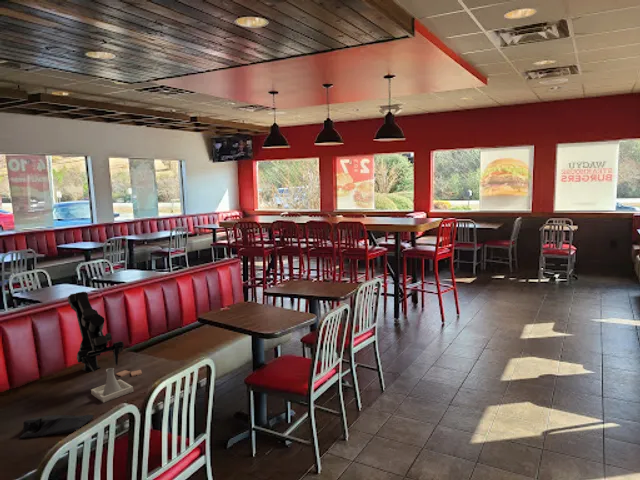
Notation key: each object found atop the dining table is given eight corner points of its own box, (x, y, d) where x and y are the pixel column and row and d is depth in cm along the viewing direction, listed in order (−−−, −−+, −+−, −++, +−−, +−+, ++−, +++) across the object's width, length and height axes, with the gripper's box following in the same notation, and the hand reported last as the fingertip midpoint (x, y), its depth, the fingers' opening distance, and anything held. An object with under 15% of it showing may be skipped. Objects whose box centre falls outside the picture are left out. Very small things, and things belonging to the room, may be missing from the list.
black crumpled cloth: (76, 437, 166) (75, 424, 166) (15, 440, 167) (13, 427, 166) (97, 416, 182) (96, 404, 181) (41, 418, 182) (39, 407, 181)
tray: (91, 394, 200) (90, 389, 200) (120, 384, 209) (120, 379, 209) (103, 402, 192) (102, 397, 191) (133, 391, 201) (133, 386, 200)
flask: (121, 386, 205) (119, 364, 204) (121, 393, 198) (119, 370, 197) (103, 390, 202) (100, 368, 201) (102, 397, 195) (99, 374, 194)
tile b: (130, 374, 221) (130, 371, 221) (141, 372, 223) (140, 369, 223) (131, 377, 217) (131, 375, 217) (142, 375, 219) (141, 372, 219)
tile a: (116, 375, 220) (116, 373, 220) (125, 372, 224) (125, 370, 224) (121, 377, 218) (121, 375, 218) (130, 374, 221) (130, 371, 221)
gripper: (75, 333, 201) (83, 365, 194) (120, 323, 212) (130, 353, 205) (73, 346, 208) (81, 378, 201) (117, 336, 220) (127, 365, 213)
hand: (105, 368), depth 205 cm, fingers open, 9 cm apart
